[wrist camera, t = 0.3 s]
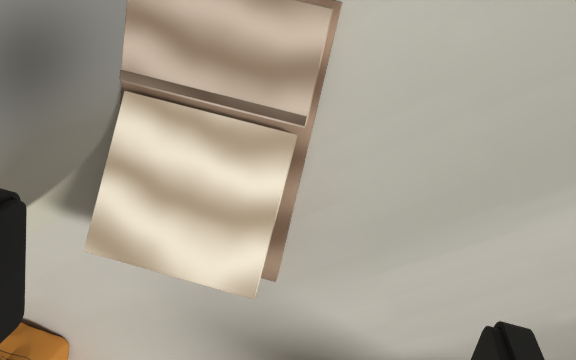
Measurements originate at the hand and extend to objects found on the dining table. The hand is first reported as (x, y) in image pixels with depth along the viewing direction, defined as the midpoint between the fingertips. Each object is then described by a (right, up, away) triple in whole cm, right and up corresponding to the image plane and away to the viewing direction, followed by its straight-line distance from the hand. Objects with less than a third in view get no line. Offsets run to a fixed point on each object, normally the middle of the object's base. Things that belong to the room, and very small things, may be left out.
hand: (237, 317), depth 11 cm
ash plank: (-7, +2, +36) cm, 36 cm away
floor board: (-6, +7, +37) cm, 39 cm away
